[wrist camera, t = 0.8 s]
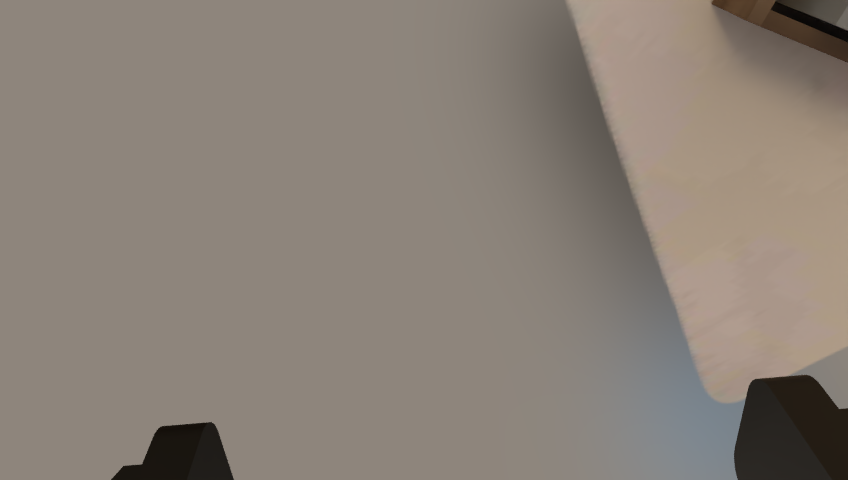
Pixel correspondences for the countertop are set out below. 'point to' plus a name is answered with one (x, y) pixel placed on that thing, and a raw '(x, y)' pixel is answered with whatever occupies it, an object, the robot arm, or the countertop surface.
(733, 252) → the countertop surface
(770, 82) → the countertop surface
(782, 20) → the wooden tray
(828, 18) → the offcut grey
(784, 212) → the countertop surface
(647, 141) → the countertop surface
